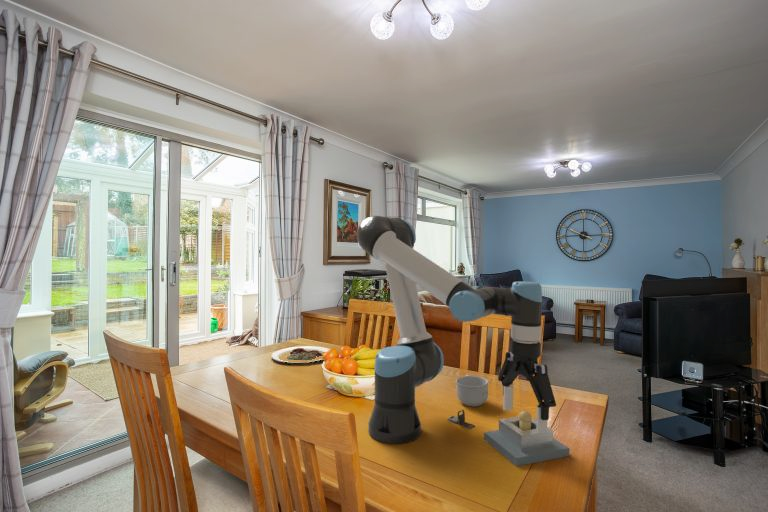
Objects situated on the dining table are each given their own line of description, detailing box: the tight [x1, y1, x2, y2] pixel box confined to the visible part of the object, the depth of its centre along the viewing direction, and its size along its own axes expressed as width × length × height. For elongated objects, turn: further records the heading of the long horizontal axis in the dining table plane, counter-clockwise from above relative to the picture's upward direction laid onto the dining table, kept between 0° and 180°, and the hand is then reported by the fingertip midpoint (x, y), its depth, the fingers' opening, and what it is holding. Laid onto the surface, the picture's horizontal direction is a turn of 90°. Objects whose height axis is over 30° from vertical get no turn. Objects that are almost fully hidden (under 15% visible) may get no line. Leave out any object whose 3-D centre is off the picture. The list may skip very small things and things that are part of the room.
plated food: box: [271, 345, 331, 364], centre depth 189 cm, size 30×30×3 cm
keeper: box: [483, 410, 570, 467], centre depth 101 cm, size 16×14×10 cm
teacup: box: [455, 374, 489, 408], centre depth 133 cm, size 14×11×8 cm
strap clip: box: [447, 409, 476, 430], centre depth 116 cm, size 8×3×4 cm, turn 42°
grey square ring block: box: [498, 416, 554, 452], centre depth 101 cm, size 10×10×4 cm
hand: (523, 419), depth 101 cm, fingers open, 13 cm apart
